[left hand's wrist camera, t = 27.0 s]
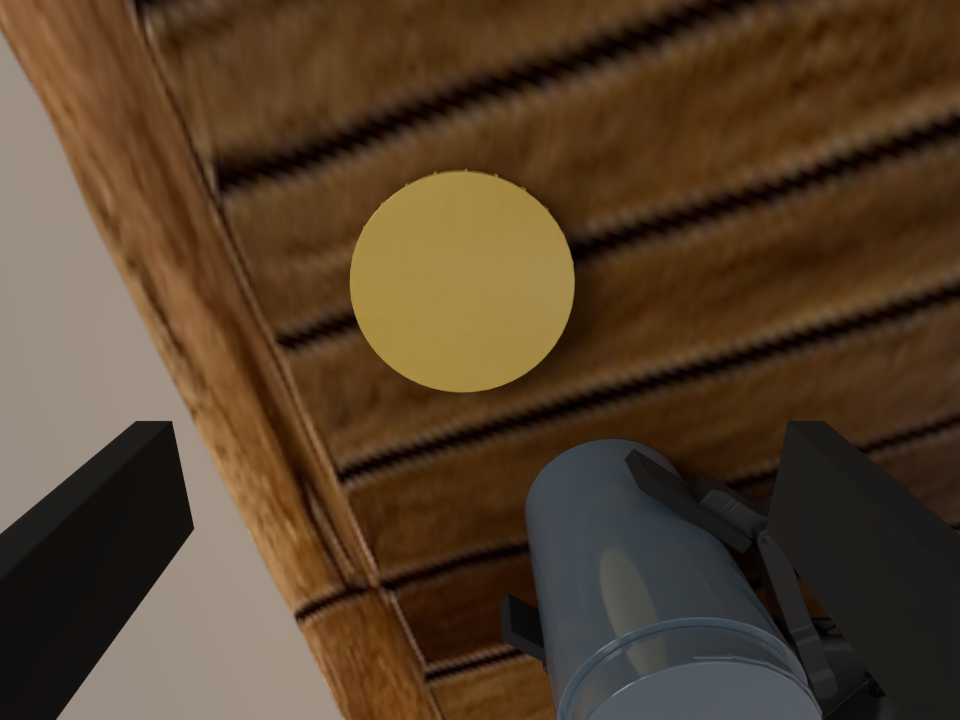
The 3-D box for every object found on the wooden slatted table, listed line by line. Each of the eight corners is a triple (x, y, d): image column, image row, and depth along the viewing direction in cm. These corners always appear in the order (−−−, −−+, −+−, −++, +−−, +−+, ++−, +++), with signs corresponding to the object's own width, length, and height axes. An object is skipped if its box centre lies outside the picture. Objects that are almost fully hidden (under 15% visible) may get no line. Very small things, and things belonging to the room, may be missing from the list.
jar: (677, 574, 39) (806, 841, 24) (522, 578, 38) (557, 849, 24) (695, 437, 35) (861, 651, 20) (525, 439, 35) (569, 657, 20)
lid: (311, 256, 31) (301, 263, 29) (489, 120, 29) (490, 119, 27) (441, 415, 34) (439, 431, 32) (609, 304, 32) (617, 314, 30)
